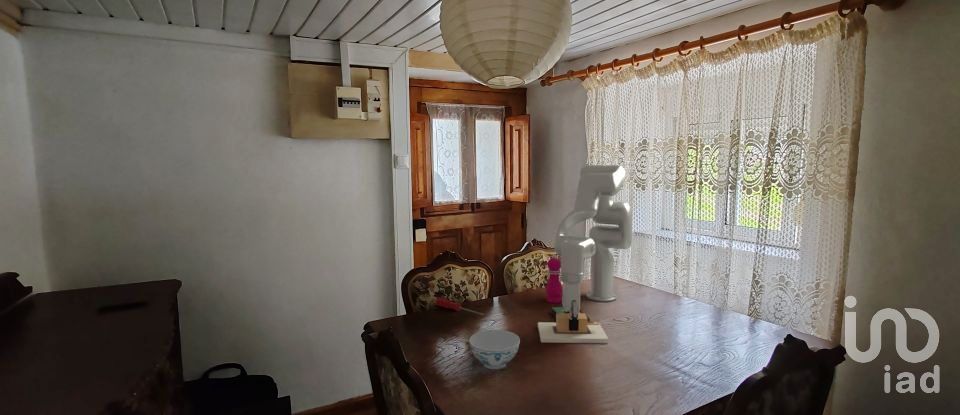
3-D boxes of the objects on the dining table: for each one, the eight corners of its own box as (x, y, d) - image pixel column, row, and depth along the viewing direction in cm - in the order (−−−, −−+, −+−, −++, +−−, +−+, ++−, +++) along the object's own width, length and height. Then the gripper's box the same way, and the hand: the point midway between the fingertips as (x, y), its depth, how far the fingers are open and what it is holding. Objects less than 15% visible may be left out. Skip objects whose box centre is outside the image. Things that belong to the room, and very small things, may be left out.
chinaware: (462, 358, 137) (461, 334, 136) (505, 349, 143) (505, 326, 142) (481, 380, 124) (481, 354, 123) (529, 369, 130) (529, 344, 129)
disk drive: (590, 325, 164) (574, 311, 179) (590, 318, 164) (575, 304, 178) (563, 327, 162) (550, 313, 177) (563, 320, 162) (550, 306, 176)
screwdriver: (480, 320, 169) (480, 311, 169) (435, 306, 185) (434, 298, 185) (486, 317, 172) (486, 308, 171) (441, 304, 188) (440, 296, 188)
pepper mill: (564, 303, 187) (564, 256, 185) (546, 303, 187) (547, 256, 185) (561, 298, 194) (561, 252, 192) (544, 298, 194) (544, 253, 192)
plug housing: (556, 326, 157) (556, 313, 157) (597, 327, 157) (597, 313, 156) (557, 332, 152) (557, 318, 152) (600, 332, 152) (600, 318, 151)
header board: (537, 326, 162) (537, 315, 162) (599, 326, 161) (599, 315, 161) (541, 342, 148) (541, 330, 148) (608, 343, 147) (608, 331, 147)
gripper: (557, 270, 161) (557, 316, 163) (564, 284, 144) (563, 334, 146) (578, 270, 161) (578, 316, 163) (587, 284, 144) (586, 335, 146)
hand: (571, 325), depth 154 cm, fingers open, 9 cm apart
